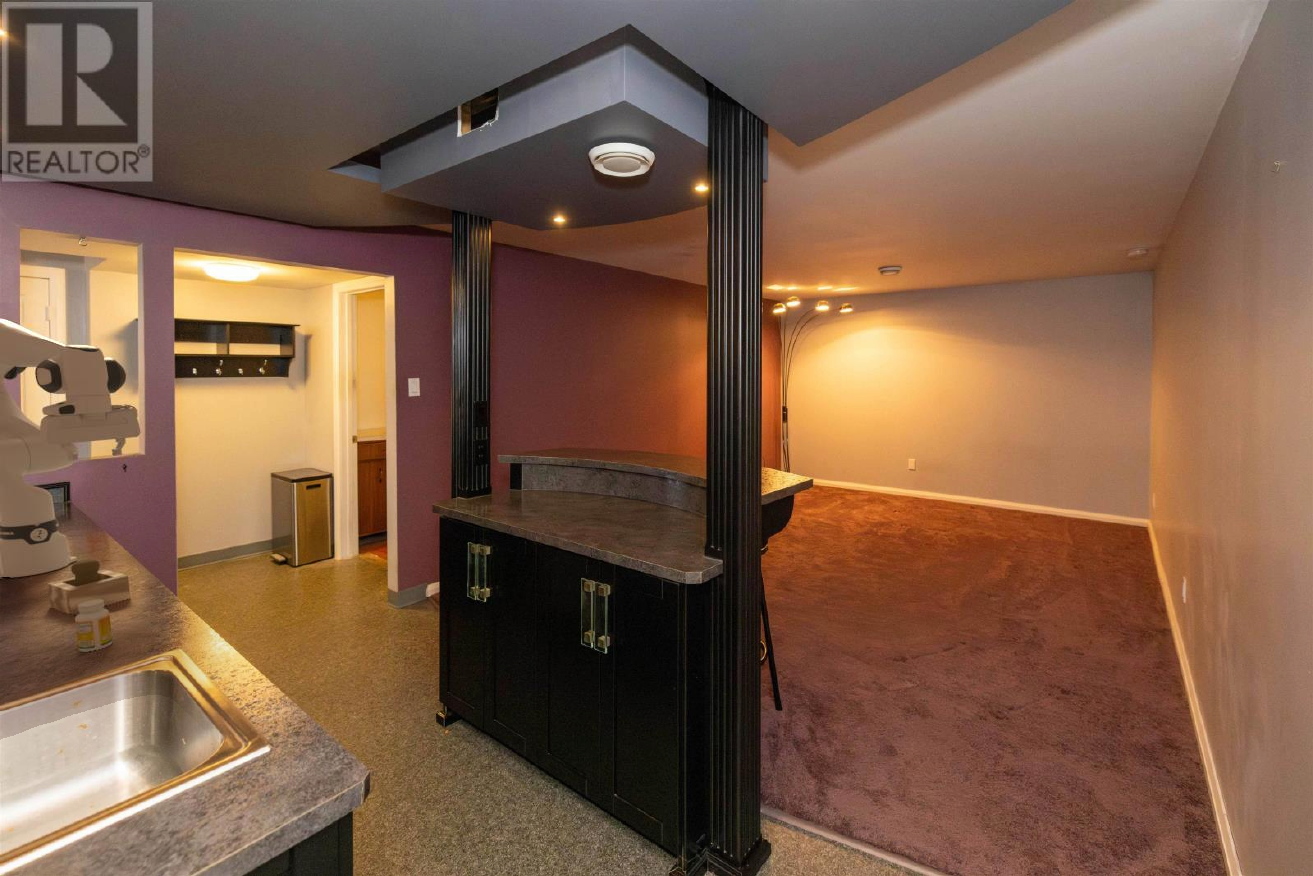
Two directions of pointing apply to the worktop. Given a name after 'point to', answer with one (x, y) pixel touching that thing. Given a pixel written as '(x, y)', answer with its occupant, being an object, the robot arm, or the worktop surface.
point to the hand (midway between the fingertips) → (95, 457)
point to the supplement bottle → (93, 626)
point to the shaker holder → (88, 591)
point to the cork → (85, 571)
